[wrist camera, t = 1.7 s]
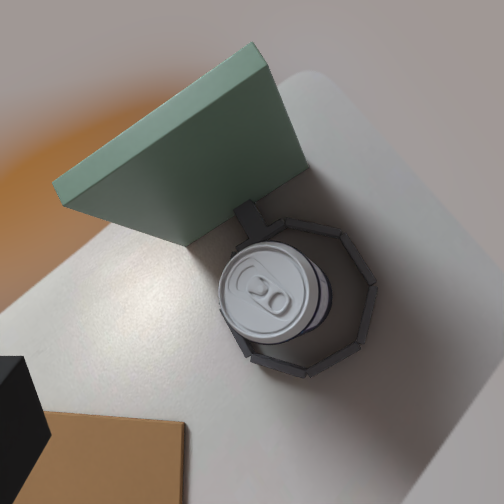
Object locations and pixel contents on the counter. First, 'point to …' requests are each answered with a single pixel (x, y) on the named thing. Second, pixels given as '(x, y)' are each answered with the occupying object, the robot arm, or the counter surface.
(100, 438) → the cork mat
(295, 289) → the beverage can
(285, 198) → the counter surface
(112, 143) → the green panel with ring
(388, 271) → the counter surface
